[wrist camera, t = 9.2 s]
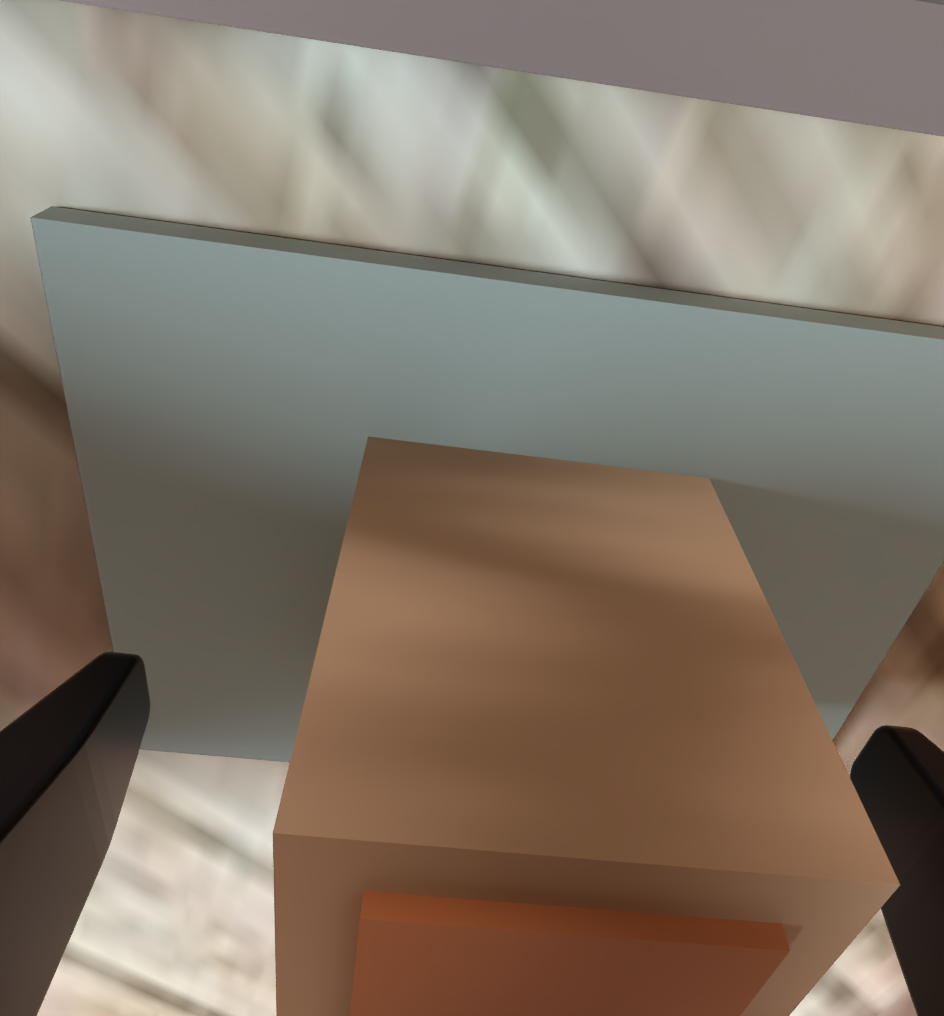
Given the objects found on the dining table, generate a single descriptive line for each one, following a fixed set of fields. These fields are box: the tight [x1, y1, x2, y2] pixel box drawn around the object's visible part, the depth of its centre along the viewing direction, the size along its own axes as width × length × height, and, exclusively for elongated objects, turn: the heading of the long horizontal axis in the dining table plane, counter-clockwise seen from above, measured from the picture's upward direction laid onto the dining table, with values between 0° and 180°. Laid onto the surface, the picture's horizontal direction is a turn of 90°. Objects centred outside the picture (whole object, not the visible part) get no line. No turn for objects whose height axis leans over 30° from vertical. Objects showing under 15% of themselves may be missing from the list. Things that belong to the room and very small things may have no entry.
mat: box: [31, 206, 944, 762], centre depth 11 cm, size 12×9×1 cm
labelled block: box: [273, 436, 900, 1016], centre depth 9 cm, size 4×4×6 cm
